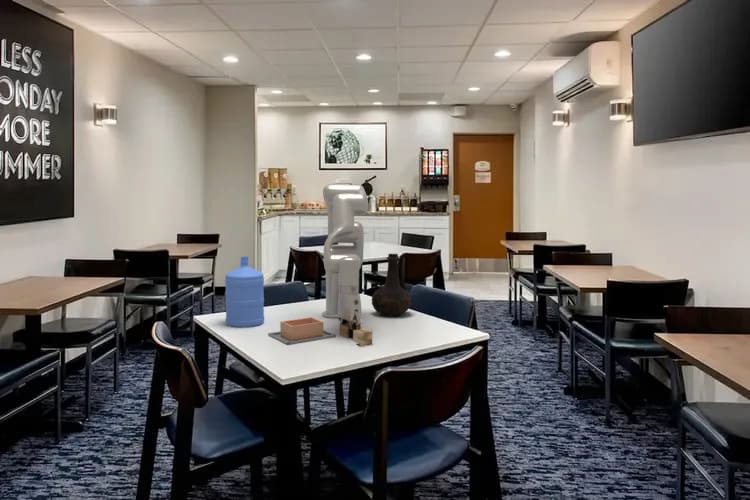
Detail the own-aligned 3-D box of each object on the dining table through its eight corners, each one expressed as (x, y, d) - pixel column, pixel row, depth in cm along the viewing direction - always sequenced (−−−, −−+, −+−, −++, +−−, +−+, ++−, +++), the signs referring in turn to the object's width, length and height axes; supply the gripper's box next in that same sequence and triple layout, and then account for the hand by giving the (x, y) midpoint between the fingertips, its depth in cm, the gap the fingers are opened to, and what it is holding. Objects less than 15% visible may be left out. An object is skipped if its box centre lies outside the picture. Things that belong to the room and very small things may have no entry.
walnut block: (350, 335, 205) (350, 323, 205) (357, 338, 201) (357, 325, 201) (339, 337, 202) (339, 324, 202) (346, 340, 198) (346, 327, 198)
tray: (314, 330, 212) (314, 326, 212) (336, 339, 199) (336, 334, 199) (268, 337, 201) (268, 333, 200) (287, 347, 188) (287, 342, 188)
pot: (311, 331, 207) (311, 317, 207) (323, 336, 200) (323, 321, 200) (280, 336, 200) (280, 321, 199) (291, 341, 192) (291, 326, 192)
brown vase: (366, 311, 249) (366, 252, 246) (400, 309, 255) (401, 251, 253) (380, 320, 232) (381, 256, 229) (417, 317, 239) (418, 254, 236)
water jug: (265, 326, 218) (265, 258, 216) (226, 328, 214) (225, 259, 211) (262, 318, 233) (262, 254, 230) (225, 320, 229) (224, 255, 226)
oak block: (364, 341, 198) (364, 328, 197) (372, 344, 194) (372, 331, 193) (353, 343, 195) (353, 330, 194) (361, 346, 191) (361, 333, 190)
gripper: (370, 292, 195) (369, 340, 197) (345, 285, 209) (344, 331, 211) (353, 294, 191) (352, 343, 193) (328, 287, 204) (328, 333, 206)
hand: (348, 336), depth 202 cm, fingers closed on walnut block, 5 cm apart
